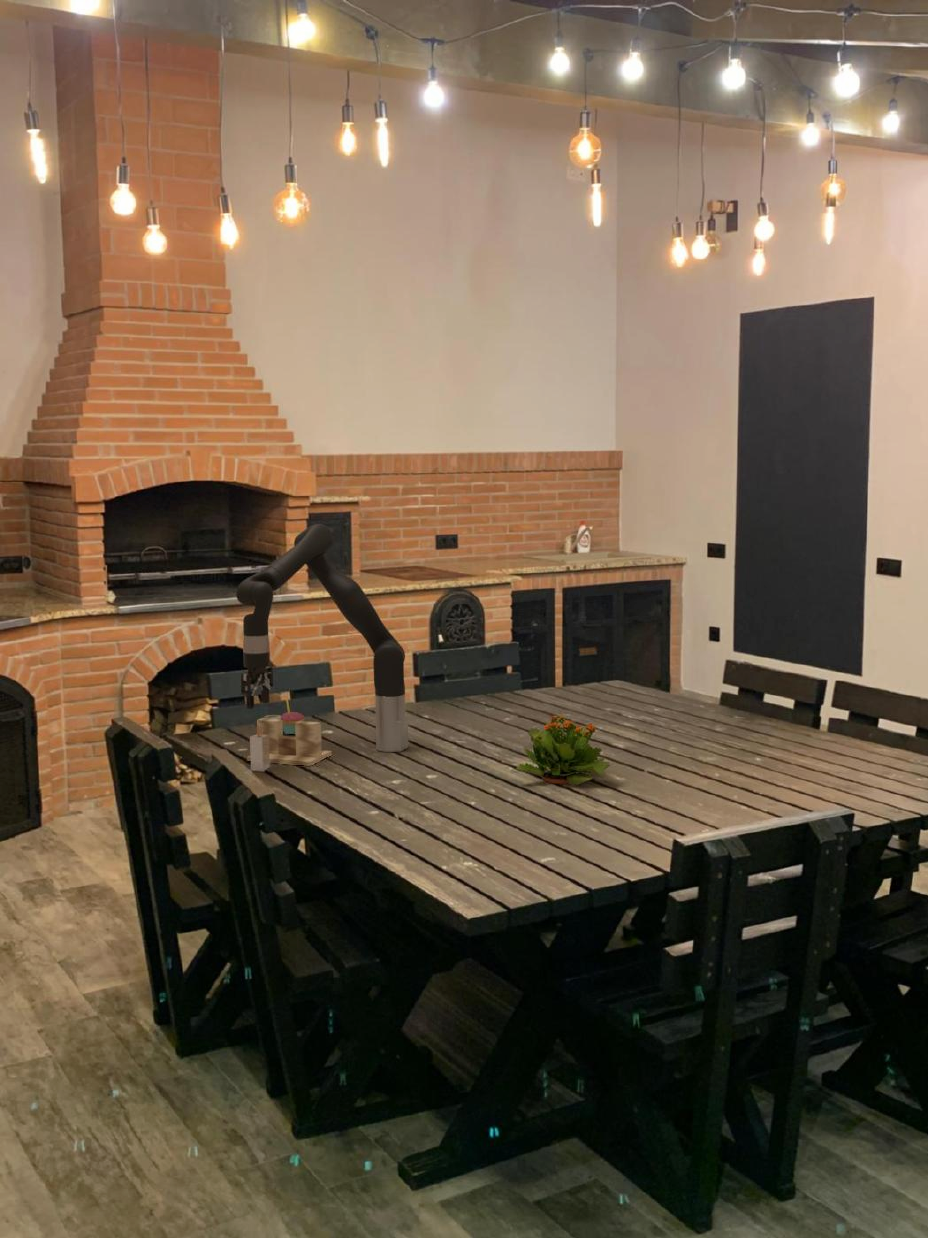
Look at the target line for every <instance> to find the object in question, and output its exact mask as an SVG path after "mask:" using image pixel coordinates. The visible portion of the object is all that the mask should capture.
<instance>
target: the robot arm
mask: <svg viewBox="0 0 928 1238" xmlns="http://www.w3.org/2000/svg"><path fill="white" fill-rule="evenodd" d="M293 542H294V543H293V544H294V545H293V547H292V548H290V549H289V550H288V551H285V553H284V554H282V555H281V556H279V557H278V558H276V559H275V560H273V561H272V562H271V563H270V564H268V566H267V567H265V568H264V569H263V570H262V571H260V572H257V573H255V574H253V575H252V576H249V577H247V578H246V579H244V580H243V581H241V582H240V583H239V585H238V586H237V587H236V593H235V594H236V595H235V596H236V599H237V601H238V602H239V603H240V604H242V605H244V606H253V607H254V609H253V613H249V614H246V615H245V616H244V617H243V624H242V625H243V626H242V627H243V640H242V641H243V642H242V649H243V650H242V653H243V667H244V668H247V672H246V673H241V674H240V679H241V680H240V689H241V690H240V691H241V692H240V694H241V695H244V696H245V700H246V701H245V703H246V704H245V705H246V706H245V707H246V709H248V710H249V709H251V710H253V709H255V696H254V695H255V692H256V691H257V690H258V688H259V686H260V689H261V691H260V692H261V693H260V694H261V696H260V697H261V703H262V704H269V703H270V691H271V688H273V687H274V670H273V669H274V668H273V666H270V665H271V653H270V652H271V651H270V650H271V648H270V647H271V646H270V645H271V643H270V637H269V618H270V615H271V614H270V613H271V609H272V605H273V600H274V592H276V591H277V590H279V589H280V588H281V587H283V586H284V585H285V584H286V583H288V581H290V580H291V579H292V578H293V577H294V576H295V575H296V574H297V573H298V572H299V571H300V570H301V569H302V568H303V567H304V566H305V565H306V566H307V568H309V570H310V571H311V572H312V573H313V574H314V575H315V576H316V578H317V580H318V582H320V584H321V585H322V586H323V588H324V589H325V590H326V592H327V593H328V595H329V596H330V597H331V599H332V600H333V602H334V603H335V605H336V607H337V608H338V610H339V611H340V613H341V614H342V616H343V617H344V618H345V619H346V621H348V623H349V624H350V625H351V626H353V628H355V630H356V631H357V632H359V634H361V635H362V637H363V639H365V641H366V643H367V644H368V646H369V648H370V650H371V651H372V653H373V661H372V664H373V686H374V695H375V697H374V700H375V701H374V702H375V703H374V704H375V709H374V710H375V743H376V745H375V748H376V750H377V751H379V752H383V753H385V752H387V753H391V752H393V753H394V752H399V753H400V752H404V749H405V750H406V749H408V748H409V718H408V717H406V686H405V670H404V665H405V664H404V662H405V660H406V653H405V649H404V648H403V647H402V645H401V644H400V643H399V642H398V640H397V639H396V638H395V637H394V636H393V634H392V633H391V632H390V631H389V630H388V629H387V627H386V626H385V624H384V622H383V621H382V620H381V618H380V616H379V614H378V613H377V611H376V609H375V607H374V606H373V604H372V602H371V601H370V599H369V598H368V596H367V595H366V594H365V592H364V590H363V589H362V588H361V586H360V585H359V583H358V582H357V581H355V580H354V579H352V578H351V577H349V576H348V575H346V574H345V573H342V572H341V571H339V570H338V569H336V568H335V567H334V566H333V565H332V564H331V562H330V561H329V560H328V559H327V557H326V556H325V554H326V553H327V552H328V551H329V550H330V549H331V548H332V546H333V544H334V534H333V532H332V531H331V529H330V527H328V526H326V525H325V524H322V523H315V524H312V525H310V526H309V527H307V528H306V529H304V530H303V531H301V532H300V533H299V534H297V535H296V537H295V538H294V541H293Z"/></svg>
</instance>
